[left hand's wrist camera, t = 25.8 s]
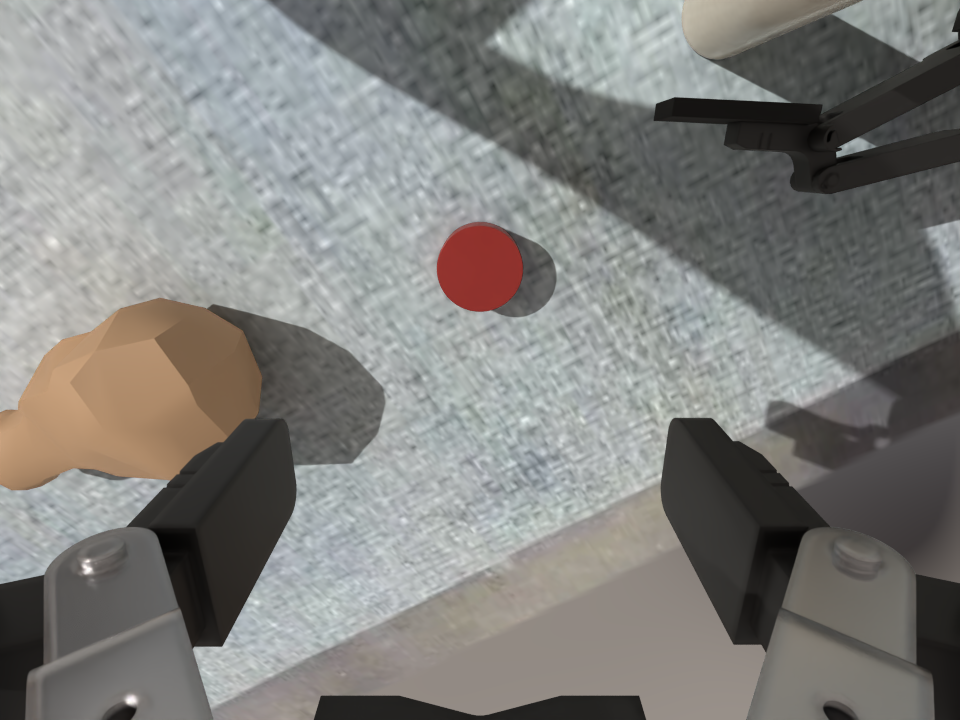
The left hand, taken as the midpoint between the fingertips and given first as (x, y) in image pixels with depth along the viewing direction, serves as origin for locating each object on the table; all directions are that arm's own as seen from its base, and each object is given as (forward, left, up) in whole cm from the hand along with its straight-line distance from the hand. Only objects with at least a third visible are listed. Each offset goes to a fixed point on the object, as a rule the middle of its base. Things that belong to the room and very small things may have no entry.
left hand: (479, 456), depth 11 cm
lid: (0, 0, -22) cm, 22 cm away
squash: (-24, -7, -24) cm, 34 cm away
